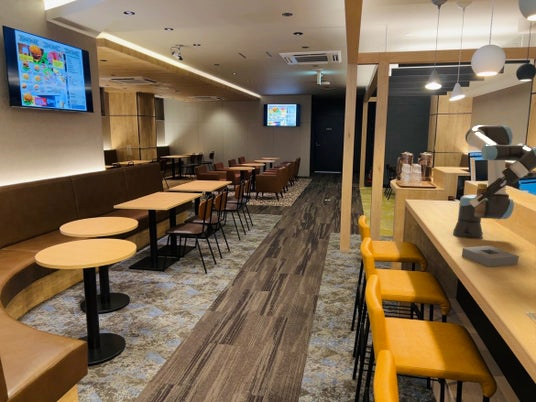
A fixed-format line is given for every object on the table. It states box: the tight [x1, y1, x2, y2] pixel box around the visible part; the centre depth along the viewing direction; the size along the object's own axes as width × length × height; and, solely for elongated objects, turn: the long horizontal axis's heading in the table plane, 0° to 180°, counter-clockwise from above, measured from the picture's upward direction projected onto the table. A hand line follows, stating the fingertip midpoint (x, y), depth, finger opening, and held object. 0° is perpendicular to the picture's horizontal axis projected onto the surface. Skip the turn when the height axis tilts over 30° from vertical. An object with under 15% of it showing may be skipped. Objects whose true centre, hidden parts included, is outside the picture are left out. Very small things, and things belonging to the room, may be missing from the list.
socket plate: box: [461, 245, 520, 268], centre depth 180 cm, size 16×16×4 cm
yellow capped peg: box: [474, 183, 488, 217], centre depth 190 cm, size 4×4×16 cm
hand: (471, 204), depth 192 cm, fingers closed on yellow capped peg, 4 cm apart
